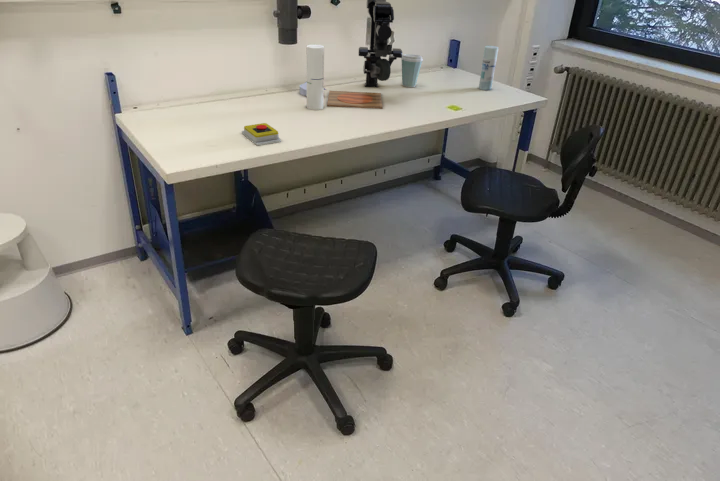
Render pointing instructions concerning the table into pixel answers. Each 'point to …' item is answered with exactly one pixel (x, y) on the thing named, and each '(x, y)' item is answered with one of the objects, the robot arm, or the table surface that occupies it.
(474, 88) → the table surface
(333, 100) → the wooden board
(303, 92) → the wedge on round base
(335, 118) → the table surface
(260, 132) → the emergency button
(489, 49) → the spray paint can
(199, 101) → the table surface
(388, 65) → the caster wheel
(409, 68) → the disposable coffee cup
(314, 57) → the cylindrical container
